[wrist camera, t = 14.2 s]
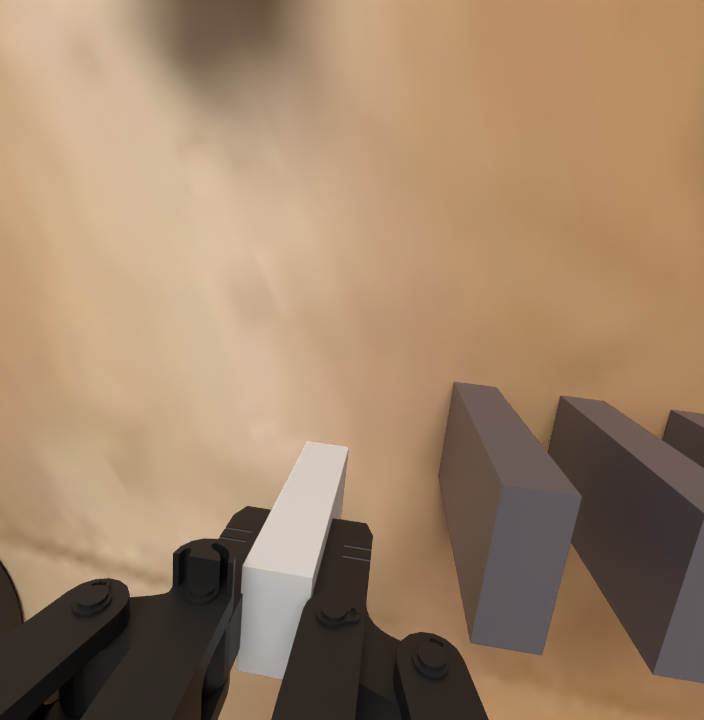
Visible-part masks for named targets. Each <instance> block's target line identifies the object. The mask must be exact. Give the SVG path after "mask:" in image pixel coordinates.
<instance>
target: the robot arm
mask: <svg viewBox="0 0 704 720" xmlns="http://www.w3.org/2000/svg"><path fill="white" fill-rule="evenodd" d="M348 450H349V447H344V446H337V445H331V444H324V443H317V442H310V441H307V442H306V444H305V446H304V448H303V450H302V452H301V454H300V456H299V458H298V460H297V462H296V464H295V466H294V467H293V469H292V471H291V473H290V475H289V477H288V479H287V481H286V483H285V485H284V487H283V489H282V491H281V493H280V495H279V496H278V498H277V500H276V502H275V504H274V506H273V508H272V510H269V509H263V508H257V507H250V506H247V507H245V508H244V509H242V510H241V511H239V512H237V513H236V514H234V515H233V517H232V519H231V520H230V522H229V523H228V525H227V526H226V529H224V531H223V532H222V534H221V535H220V538H218V539H200V540H195V541H191V542H189V543H187V544H185V545H183V546H181V547H180V548H179V549H177V550H176V551H175V552H174V553H173V587H172V588H171V590H170V591H169V592H167V593H165V594H159V595H153V596H142V597H130V594H129V591H128V587H127V586H126V585H125V584H124V583H122V582H121V581H119V580H114V579H110V578H107V579H95V580H92V581H89V582H85V583H82V584H80V585H78V586H77V587H75V588H73V589H71V590H69V591H68V592H66V593H65V594H64V595H62V596H61V597H60V598H58V599H57V600H55V601H54V602H53V603H51V604H50V605H48V606H47V607H46V608H44V609H43V610H41V611H40V612H39V613H37V614H36V615H34V616H33V617H32V618H30V619H29V620H27V621H26V622H25V623H23V624H22V621H21V613H20V608H19V604H18V601H17V597H16V594H15V592H14V589H13V587H12V585H11V582H10V580H9V578H8V576H7V575H6V573H5V571H4V570H3V568H2V566H1V565H0V720H218V717H219V715H220V712H221V709H222V707H223V704H224V702H225V699H226V697H227V694H228V688H229V680H230V671H231V668H232V666H233V663H234V661H235V658H236V656H237V654H238V657H237V671H241V672H247V673H252V674H257V675H262V676H268V677H273V678H278V679H283V680H282V684H281V687H280V691H279V694H278V698H277V701H276V705H275V709H274V712H273V716H272V719H271V720H489V719H488V717H487V714H486V712H485V710H484V707H483V705H482V702H481V700H480V698H479V695H478V693H477V690H476V688H475V686H474V683H473V681H472V678H471V676H470V673H469V671H468V669H467V666H466V664H465V661H464V659H463V658H462V656H461V655H460V653H459V651H458V650H457V648H455V647H454V646H453V645H452V644H451V643H450V642H448V641H447V640H446V639H444V638H442V637H440V636H437V635H435V634H432V633H425V632H419V633H414V634H410V635H408V636H407V637H406V638H404V639H403V640H401V641H400V640H397V639H395V638H393V637H391V636H389V635H388V634H386V633H384V632H383V631H381V630H380V629H379V628H378V627H377V626H376V625H375V624H374V623H373V621H372V620H371V619H370V617H369V615H368V612H367V607H366V599H367V589H368V579H369V569H370V559H371V549H372V539H373V535H372V533H371V531H370V529H369V527H368V525H367V524H366V523H360V522H353V521H347V520H341V519H340V518H341V512H342V503H343V494H344V486H345V477H346V468H347V459H348Z"/></svg>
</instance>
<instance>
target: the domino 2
mask: <svg viewBox="0 0 704 720" xmlns="http://www.w3.org/2000/svg"><path fill="white" fill-rule="evenodd" d="M548 454H549V455H550V456H551V458H552V459H553V460H554V461H555V463H556V464H557V465H558V467H559V468H560V469H561V470H562V472H563V473H564V474H565V475H566V477H567V478H568V479H569V481H570V482H571V483H572V484H573V486H574V487H575V488H576V489H577V491H578V492H579V493H580V495H581V496H582V499H581V503H580V507H579V510H578V514H577V518H576V522H575V526H574V530H573V534H572V538H571V543H572V545H573V546H574V548H575V549H576V551H577V553H578V554H579V556H580V558H581V559H582V561H583V562H584V564H585V566H586V567H587V569H588V570H589V572H590V574H591V575H592V577H593V579H594V580H595V582H596V583H597V585H598V587H599V588H600V590H601V591H602V593H603V595H604V596H605V598H606V600H607V601H608V603H609V604H610V606H611V608H612V609H613V611H614V612H615V614H616V616H617V617H618V619H619V621H620V622H621V624H622V625H623V627H624V629H625V630H626V632H627V633H628V635H629V637H630V638H631V640H632V642H633V643H634V645H635V646H636V648H637V650H638V651H639V653H640V654H641V656H642V658H643V659H644V661H645V663H646V664H647V666H648V667H649V669H650V671H651V672H652V674H653V675H659V676H665V677H671V678H676V679H682V680H688V681H694V682H700V683H704V468H703V467H701V466H700V465H698V464H697V463H695V462H694V461H692V460H691V459H689V458H688V457H686V456H685V455H683V454H682V453H680V452H679V451H677V450H676V449H674V448H673V447H671V446H670V445H668V444H667V443H666V442H664V441H663V440H661V439H660V438H658V437H657V436H655V435H654V434H652V433H651V432H649V431H648V430H646V429H645V428H643V427H642V426H640V425H639V424H637V423H636V422H634V421H633V420H631V419H630V418H628V417H627V416H626V415H624V414H623V413H621V412H620V411H618V410H617V409H615V408H614V407H612V406H611V405H609V404H608V403H606V402H605V401H599V400H591V399H583V398H576V397H568V396H560V401H559V405H558V410H557V414H556V418H555V423H554V427H553V432H552V436H551V440H550V445H549V449H548Z"/></svg>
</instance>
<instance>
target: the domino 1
mask: <svg viewBox="0 0 704 720" xmlns="http://www.w3.org/2000/svg"><path fill="white" fill-rule="evenodd" d="M439 481H440V487H441V492H442V497H443V502H444V508H445V513H446V518H447V523H448V529H449V534H450V539H451V544H452V550H453V555H454V560H455V565H456V570H457V576H458V581H459V586H460V591H461V597H462V602H463V607H464V612H465V618H466V623H467V628H468V633H469V639H470V643H473V644H479V645H485V646H491V647H497V648H502V649H508V650H514V651H520V652H526V653H531V654H537V655H542V653H543V649H544V645H545V641H546V637H547V633H548V629H549V625H550V621H551V617H552V613H553V609H554V605H555V602H556V598H557V594H558V590H559V586H560V582H561V578H562V574H563V570H564V566H565V562H566V558H567V554H568V550H569V546H570V542H571V538H572V534H573V530H574V526H575V522H576V518H577V514H578V510H579V507H580V503H581V499H582V496H581V495H580V493H579V492H578V491H577V489H576V488H575V487H574V486H573V484H572V483H571V482H570V481H569V479H568V478H567V477H566V475H565V474H564V473H563V472H562V470H561V469H560V468H559V467H558V465H557V464H556V463H555V461H554V460H553V459H552V458H551V456H550V455H549V454H548V453H547V451H546V450H545V449H544V447H543V446H542V445H541V444H540V442H539V441H538V440H537V439H536V437H535V436H534V435H533V433H532V432H531V431H530V430H529V428H528V427H527V426H526V424H525V423H524V422H523V421H522V419H521V418H520V417H519V416H518V414H517V413H516V412H515V410H514V409H513V408H512V407H511V405H510V404H509V403H508V402H507V400H506V399H505V398H504V396H503V395H502V394H501V393H500V391H499V390H498V389H497V388H496V387H490V386H482V385H475V384H467V383H459V382H454V386H453V392H452V398H451V404H450V410H449V416H448V422H447V428H446V434H445V440H444V446H443V452H442V458H441V464H440V470H439Z"/></svg>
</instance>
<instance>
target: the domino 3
mask: <svg viewBox="0 0 704 720" xmlns="http://www.w3.org/2000/svg"><path fill="white" fill-rule="evenodd" d="M663 441H664V442H666V443H667V444H668V445H670V446H671V447H673V448H674V449H676V450H677V451H679V452H680V453H682V454H683V455H685V456H686V457H688V458H689V459H691V460H692V461H694V462H695V463H697V464H698V465H700V466H701V467H703V468H704V414H700V413H692V412H684V411H676V410H671V412H670V415H669V419H668V422H667V426H666V429H665V433H664V436H663Z"/></svg>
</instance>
